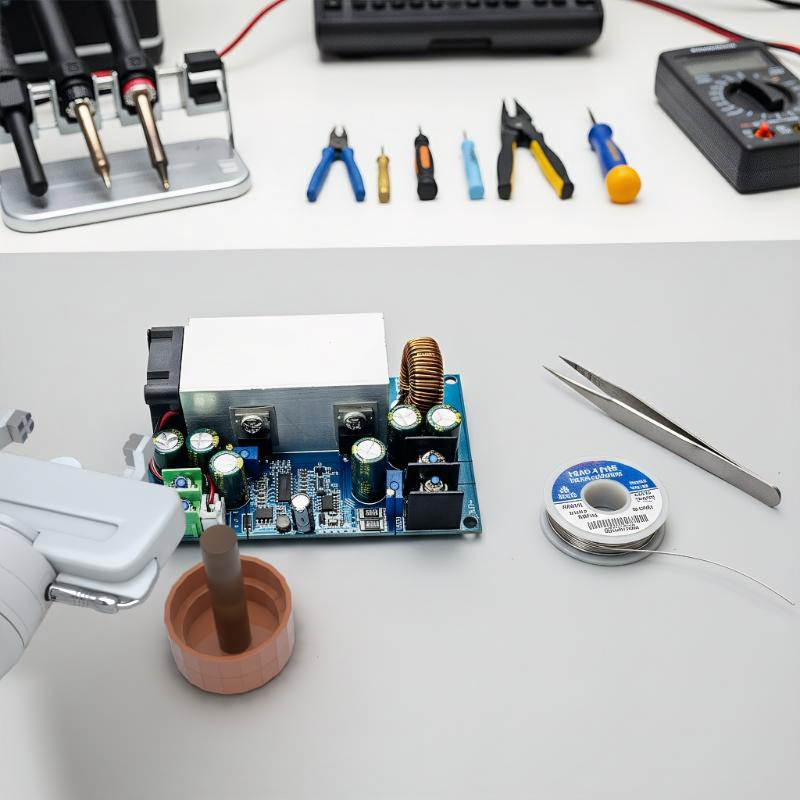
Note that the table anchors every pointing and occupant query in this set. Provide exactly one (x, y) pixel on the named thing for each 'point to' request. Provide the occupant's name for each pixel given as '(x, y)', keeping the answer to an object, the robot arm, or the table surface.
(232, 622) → the stirring stick
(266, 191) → the table surface
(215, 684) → the bowl
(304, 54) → the table surface
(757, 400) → the table surface
